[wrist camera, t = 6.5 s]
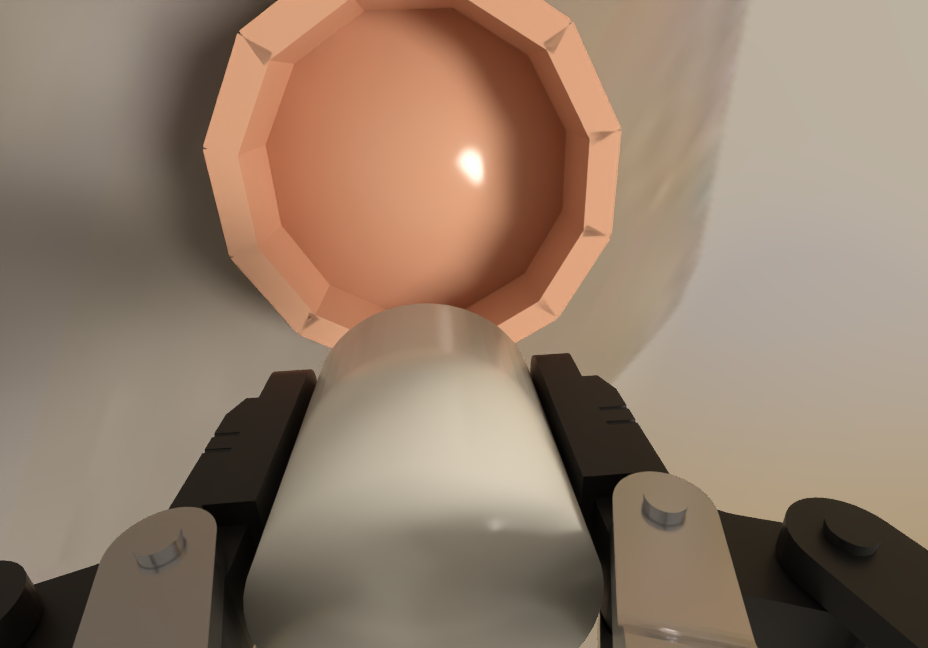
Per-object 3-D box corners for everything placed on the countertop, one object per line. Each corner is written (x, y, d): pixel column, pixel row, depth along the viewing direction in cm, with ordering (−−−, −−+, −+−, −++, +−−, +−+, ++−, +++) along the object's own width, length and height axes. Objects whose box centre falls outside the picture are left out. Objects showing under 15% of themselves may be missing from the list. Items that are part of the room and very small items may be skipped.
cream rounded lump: (299, 310, 9) (201, 490, 5) (535, 297, 10) (620, 459, 5) (333, 491, 11) (281, 728, 7) (529, 476, 11) (589, 698, 7)
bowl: (212, -16, 17) (155, -42, 13) (594, -27, 17) (638, -56, 14) (285, 331, 22) (259, 378, 19) (573, 313, 23) (600, 356, 20)
